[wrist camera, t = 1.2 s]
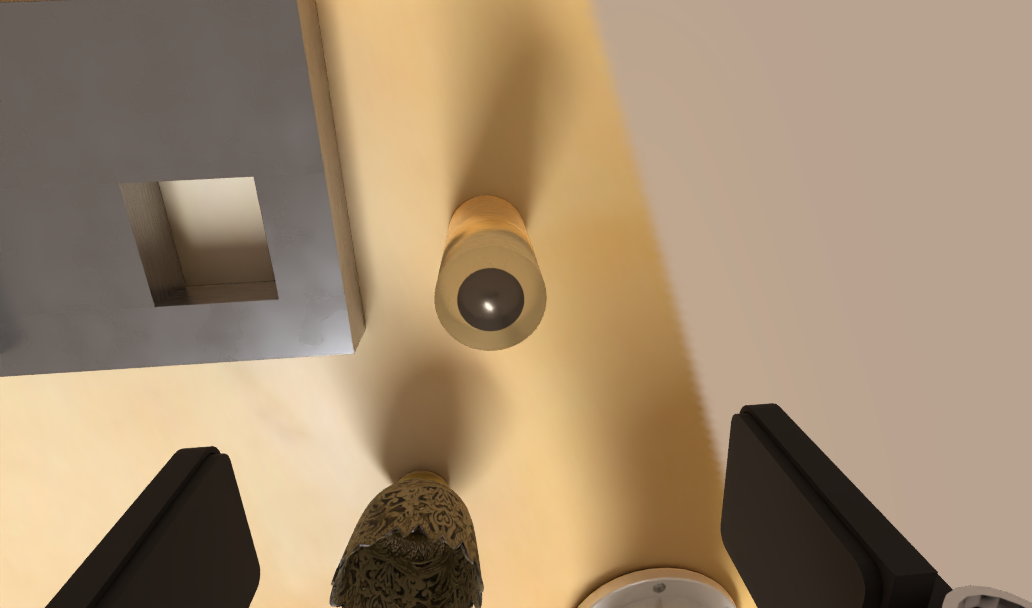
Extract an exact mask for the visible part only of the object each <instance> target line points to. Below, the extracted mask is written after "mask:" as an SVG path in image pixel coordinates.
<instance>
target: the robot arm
mask: <svg viewBox="0 0 1032 608" xmlns="http://www.w3.org/2000/svg"><path fill="white" fill-rule="evenodd" d="M721 536H722V540H723V543H724V546H725V548H726V550H727V552H728V554H729V556H730V557H731V559H732V561H733V563H734V565H735V567H736V569H737V570H738V572H739V574H740V576H741V578H742V580H743V581H744V583H745V585H746V587H747V589H748V591H749V593H750V594H751V596H752V598H753V600H754V602H755V604H756V606H757V607H758V608H1032V603H1031V602H1029V601H1027V600H1024V599H1022V598H1020V597H1018V596H1015V595H1013V594H1011V593H1008V592H1004V591H1001V590H997V589H994V588H990V587H981V586H971V585H970V586H965V587H959V588H955V589H954V590H952V588H951V587H950V586H949V585H948V584H947V583H946V582H945V581H944V580H943V579H942V578H941V577H940V576H939V575H938V574H937V573H938V572H937V571H936V570H935V569H934V568H933V567H932V566H931V565H930V564H929V563H928V561H927V560H926V559H925V558H924V557H923V556H922V555H921V554H920V553H919V552H918V551H917V550H916V549H915V548H914V547H913V546H912V545H911V544H910V543H909V542H908V541H907V539H906V538H905V537H904V536H903V535H902V534H901V533H900V532H899V531H898V530H897V529H896V528H895V527H894V526H893V525H892V524H891V523H890V522H889V521H888V520H887V519H886V517H885V516H883V514H882V513H881V512H880V511H879V510H878V509H877V508H876V507H875V506H874V505H873V504H872V503H871V502H870V501H869V500H868V499H867V498H866V497H865V496H864V494H863V493H862V492H861V491H860V490H859V489H858V488H857V487H856V486H855V485H854V484H853V483H852V482H851V481H850V480H849V479H848V478H847V477H846V476H845V475H844V474H843V473H842V471H841V470H840V469H839V468H837V466H836V465H835V464H834V463H833V462H832V461H831V460H830V459H829V458H828V457H827V456H826V455H825V454H824V453H823V452H822V451H821V450H820V448H819V447H818V446H817V445H816V444H815V443H814V442H813V441H812V440H811V439H810V438H809V437H808V436H807V435H806V434H805V433H804V432H803V431H802V430H801V429H800V427H798V426H797V424H796V423H795V422H794V421H793V420H792V419H791V418H790V417H789V416H788V415H787V414H786V413H785V412H784V411H783V410H782V409H781V408H780V407H779V406H778V405H777V404H773V403H772V404H758V405H745V406H744V407H742V409H741V411H740V414H735V415H733V417H732V421H731V430H730V439H729V449H728V459H727V469H726V479H725V488H724V498H723V508H722V518H721ZM259 580H260V566H259V562H258V558H257V554H256V551H255V547H254V544H253V540H252V536H251V533H250V529H249V525H248V522H247V518H246V515H245V511H244V507H243V504H242V500H241V497H240V493H239V489H238V486H237V482H236V479H235V475H234V471H233V468H232V464H231V461H230V458H229V456H228V455H227V454H221V453H220V451H219V450H218V449H217V448H216V447H214V446H211V447H198V448H185V449H180V450H178V451H177V452H176V453H175V454H174V455H173V456H172V457H171V459H170V460H169V461H168V462H167V463H166V465H165V466H164V467H163V468H162V469H161V471H160V472H159V473H158V474H157V475H156V476H155V478H154V479H153V480H152V481H151V482H150V484H149V485H148V486H147V487H146V488H145V490H144V491H143V492H142V493H141V494H140V495H139V497H138V498H137V499H136V500H135V501H134V503H133V504H132V505H131V506H130V507H129V509H128V510H127V511H126V512H125V513H124V514H123V516H122V517H121V518H120V519H119V520H118V522H117V523H116V524H115V525H114V526H113V528H112V529H111V530H110V531H109V532H108V533H107V535H106V536H105V537H104V538H103V539H102V541H101V542H100V543H99V544H98V545H97V547H96V548H95V549H94V550H93V551H92V552H91V554H90V555H89V556H88V557H87V558H86V560H85V561H84V562H83V563H82V564H81V566H80V567H79V568H78V569H77V570H76V571H75V573H74V574H73V575H72V576H71V577H70V579H69V580H68V581H67V582H66V583H65V585H64V586H63V587H62V588H61V589H60V590H59V592H58V593H57V594H56V595H55V596H54V598H53V599H52V600H51V601H50V602H49V604H48V605H47V606H46V607H45V608H249V606H250V604H251V601H252V599H253V597H254V595H255V592H256V590H257V587H258V585H259ZM578 608H737V607H736V605H735V603H734V601H733V599H732V598H731V597H730V595H729V594H728V593H727V591H726V590H725V589H724V588H723V587H722V586H720V585H719V584H718V583H717V582H715V581H714V580H712V579H710V578H708V577H706V576H704V575H702V574H700V573H696V572H693V571H689V570H685V569H676V568H651V569H646V570H641V571H636V572H632V573H629V574H626V575H623V576H621V577H618V578H616V579H614V580H612V581H610V582H608V583H606V584H604V585H602V586H601V587H600V588H598V589H597V590H596V591H594V592H593V593H592V594H590V595H589V596H588V597H587V598H586V599H585V600H584V601H583V602H582V603H581V604H580V605H579V606H578Z"/></svg>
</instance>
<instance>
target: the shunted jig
mask: <svg viewBox="0 0 1032 608" xmlns="http://www.w3.org/2000/svg"><path fill="white" fill-rule="evenodd" d="M253 176H254V181H255V185H256V190H257V195H258V200H259V205H260V210H261V214H262V219H263V224H264V229H265V234H266V238H267V243H268V248H269V253H270V258H271V263H272V267H273V272H274V277H275V281H268V282H251V283H235V284H218V285H201V286H185V282H184V278H183V274H182V271H181V267H180V263H179V260H178V256H177V252H176V248H175V245H174V241H173V237H172V234H171V230H170V226H169V222H168V219H167V215H166V211H165V208H164V204H163V200H162V196H161V193H160V189H159V185H158V181H175V180H195V179H214V178H233V177H253ZM364 332H365V324H364V317H363V311H362V304H361V297H360V291H359V284H358V278H357V271H356V265H355V258H354V251H353V245H352V238H351V232H350V225H349V218H348V212H347V205H346V199H345V192H344V186H343V179H342V172H341V166H340V159H339V153H338V146H337V139H336V133H335V126H334V120H333V113H332V106H331V100H330V93H329V87H328V80H327V74H326V67H325V60H324V54H323V47H322V41H321V34H320V27H319V21H318V14H317V8H316V2H314V1H312V0H57V1H30V2H4V3H0V377H4V376H20V375H35V374H50V373H65V372H81V371H96V370H111V369H127V368H142V367H157V366H172V365H188V364H203V363H218V362H233V361H249V360H264V359H279V358H295V357H310V356H325V355H340V354H354V353H355V351H356V349H357V346H358V344H359V342H360V340H361V338H362V336H363V334H364Z"/></svg>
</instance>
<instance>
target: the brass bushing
mask: <svg viewBox="0 0 1032 608" xmlns="http://www.w3.org/2000/svg"><path fill="white" fill-rule="evenodd" d="M545 307H546V288H545V284H544V281H543V278H542V275H541V272H540V269H539V266H538V263H537V260H536V257H535V255H534V252H533V249H532V246H531V243H530V240H529V237H528V234H527V231H526V228H525V225H524V222H523V220H522V217H521V215H520V214H519V212H518V211H517V209H516V208H515V207H514V206H513V205H512V204H510V203H509V202H508V201H506V200H504V199H502V198H500V197H496V196H490V195H483V196H477V197H474V198H471V199H469V200H467V201H466V202H464V203H463V204H462V205H460V206H459V207H458V209H457V210H456V211H455V213H454V214H453V216H452V218H451V221H450V225H449V229H448V233H447V238H446V243H445V247H444V252H443V257H442V261H441V266H440V270H439V275H438V280H437V284H436V289H435V308H436V312H437V315H438V318H439V320H440V322H441V324H442V325H443V327H444V328H445V330H446V331H447V332H448V333H449V334H450V335H451V336H452V337H453V338H454V339H456V340H457V341H459V342H460V343H462V344H464V345H466V346H468V347H471V348H474V349H479V350H486V351H494V350H502V349H506V348H509V347H512V346H514V345H516V344H518V343H520V342H522V341H523V340H525V339H526V338H527V337H528V336H529V335H531V334H532V333H533V331H534V330H535V329H536V328H537V326H538V325H539V323H540V321H541V319H542V317H543V315H544V311H545Z"/></svg>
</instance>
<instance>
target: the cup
mask: <svg viewBox="0 0 1032 608" xmlns="http://www.w3.org/2000/svg"><path fill="white" fill-rule="evenodd" d="M333 582H334V583H333ZM331 585H333V588H332V592H331V596H330V605H331V606H332V607H340V606H342V608H472V607H473V604H474V606H475V608H481V605H482V592H483V590H484V586H483V581H482V577H481V570H480V562H479V555H478V549H477V542H476V537H475V531H474V527H473V523H472V519H471V517H470V514H469V511H468V509H467V507H466V505H465V504H464V502H463V501H462V500H461V498H460V497H459V496H458V495H457V494H456V493H455V492H454V491H453V490H451V489H450V488H449V487H448V485H447V483H446V482H445V481H444V479H443V478H441V477H440V476H439V475H437V474H435V473H433V472H430V471H423V470H421V471H414V472H411V473H408V474H406V475H405V476H403V477H402V478H401V479H400V480H399V481H398V482H397V483H395V484H393V485H391V486H389V487H387V488H385V489H384V490H383V491H381V492H380V493H379V494H378V495H377V496H376V497H375V498H374V499H373V500H372V501H371V502H370V503H369V505H368V506H367V508H366V509H365V511H364V512H363V514H362V516H361V517H360V519H359V521H358V523H357V525H356V527H355V529H354V532H353V534H352V536H351V538H350V540H349V543H348V545H347V547H346V550H345V552H344V554H343V556H342V559H341V561H340V563H339V566H338V568H337V569H336V572H335V574H334V577H333V580H332V583H331Z"/></svg>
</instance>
